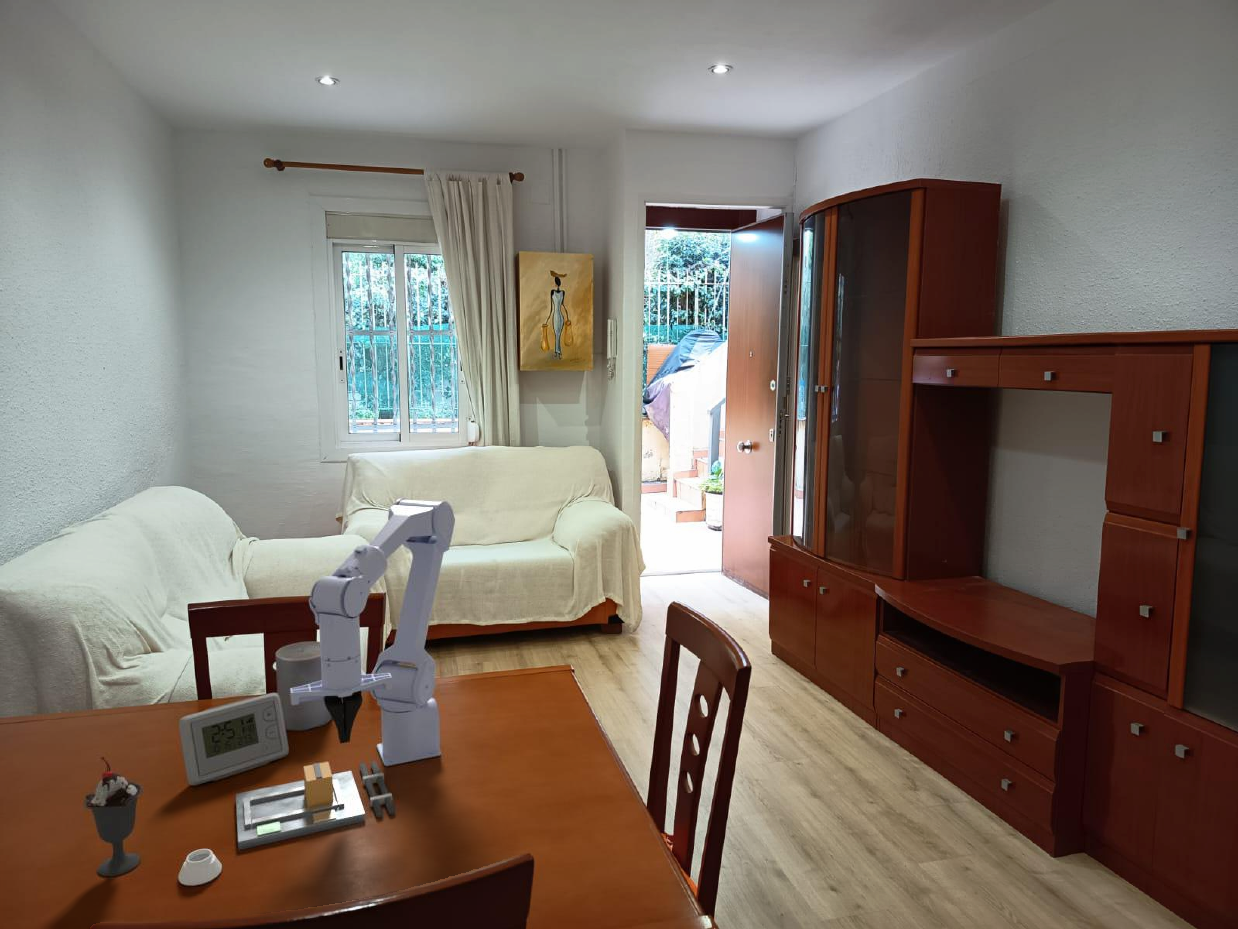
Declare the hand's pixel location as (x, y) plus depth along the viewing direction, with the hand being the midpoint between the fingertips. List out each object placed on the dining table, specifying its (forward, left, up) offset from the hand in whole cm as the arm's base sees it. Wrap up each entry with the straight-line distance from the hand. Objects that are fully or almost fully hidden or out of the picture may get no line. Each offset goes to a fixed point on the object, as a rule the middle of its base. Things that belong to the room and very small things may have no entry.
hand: (344, 740), depth 126 cm
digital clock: (+15, -18, -10) cm, 26 cm away
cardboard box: (+4, 0, -8) cm, 9 cm away
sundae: (+30, +4, -10) cm, 32 cm away
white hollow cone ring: (+20, +11, -10) cm, 25 cm away
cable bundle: (-5, -1, -10) cm, 11 cm away
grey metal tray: (+7, 0, -10) cm, 12 cm away
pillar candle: (+3, -33, -10) cm, 34 cm away
